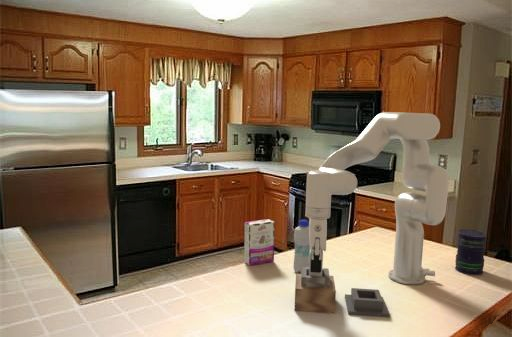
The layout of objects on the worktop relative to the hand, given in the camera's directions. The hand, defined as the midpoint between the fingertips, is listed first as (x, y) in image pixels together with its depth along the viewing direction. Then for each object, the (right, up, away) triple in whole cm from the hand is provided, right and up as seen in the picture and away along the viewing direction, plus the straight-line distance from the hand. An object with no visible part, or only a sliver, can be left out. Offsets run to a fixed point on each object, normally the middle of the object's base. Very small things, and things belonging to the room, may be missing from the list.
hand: (315, 268), depth 134 cm
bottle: (-1, -8, +28) cm, 29 cm away
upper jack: (0, -11, +2) cm, 11 cm away
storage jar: (+64, -9, +33) cm, 72 cm away
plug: (0, -4, +1) cm, 4 cm away
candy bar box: (-17, -6, +37) cm, 42 cm away
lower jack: (+16, -12, 0) cm, 20 cm away
